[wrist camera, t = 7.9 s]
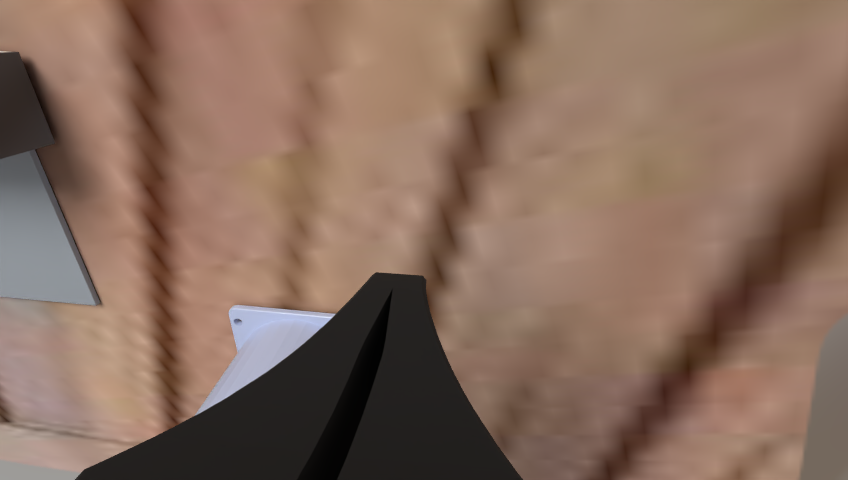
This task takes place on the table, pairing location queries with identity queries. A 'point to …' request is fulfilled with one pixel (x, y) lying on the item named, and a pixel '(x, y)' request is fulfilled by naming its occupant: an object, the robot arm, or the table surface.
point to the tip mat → (37, 238)
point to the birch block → (19, 110)
